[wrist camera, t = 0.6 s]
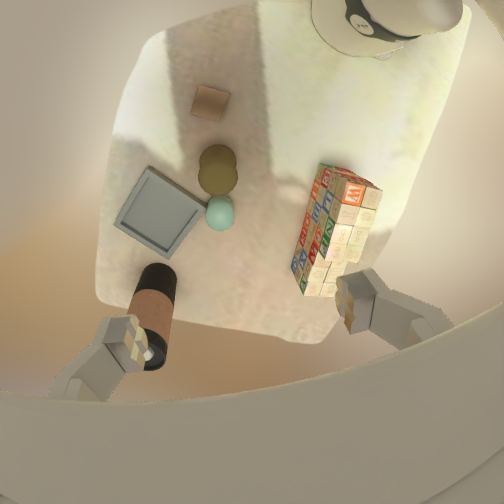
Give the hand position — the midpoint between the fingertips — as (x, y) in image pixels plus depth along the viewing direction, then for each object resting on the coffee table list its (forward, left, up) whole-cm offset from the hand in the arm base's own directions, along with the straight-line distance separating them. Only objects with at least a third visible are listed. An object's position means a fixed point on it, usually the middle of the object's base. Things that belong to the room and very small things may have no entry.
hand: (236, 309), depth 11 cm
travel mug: (+27, +5, -38) cm, 47 cm away
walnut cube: (-5, -6, -38) cm, 38 cm away
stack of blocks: (-1, +22, -38) cm, 44 cm away
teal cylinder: (+8, +6, -37) cm, 39 cm away
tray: (+15, -2, -37) cm, 40 cm away
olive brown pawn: (+2, +1, -38) cm, 38 cm away
